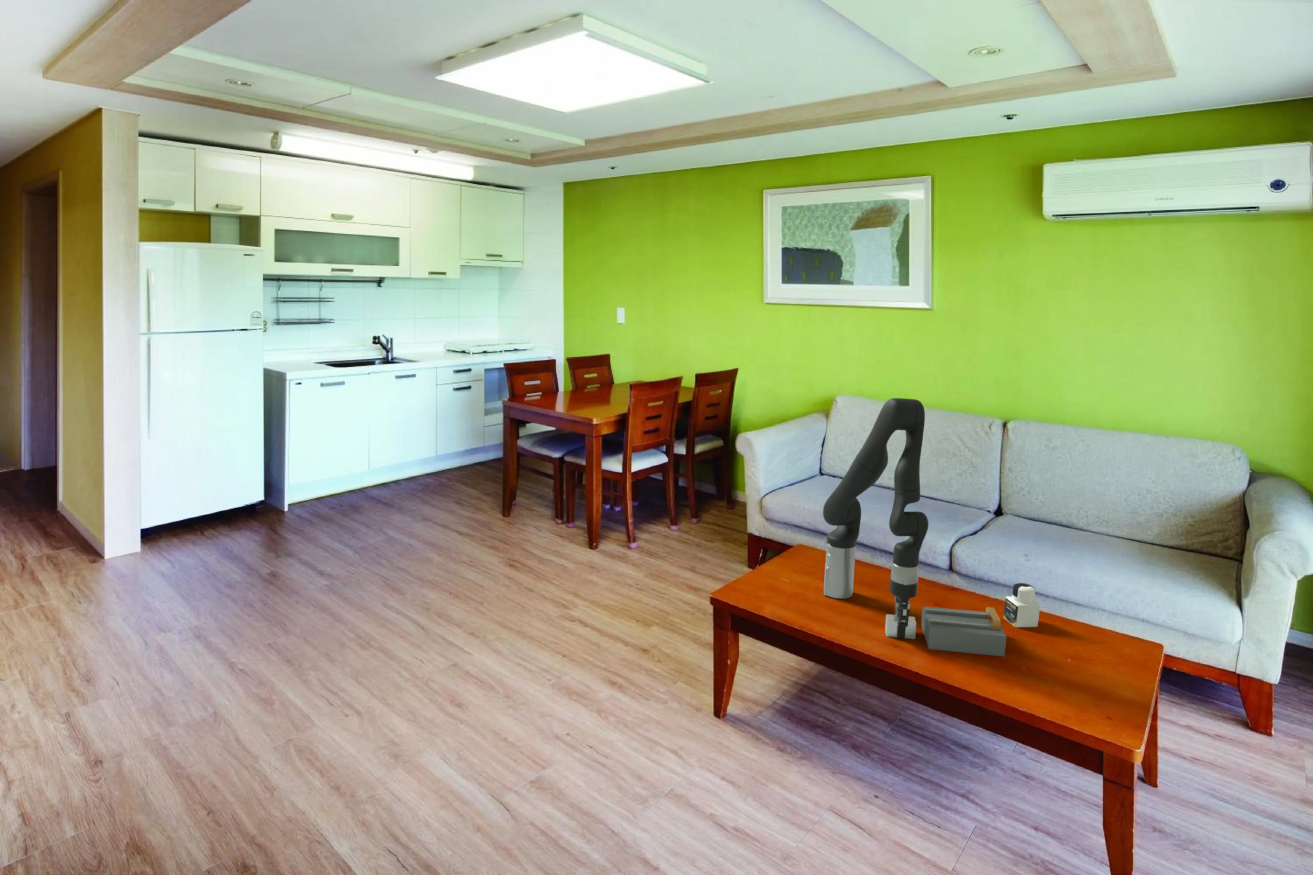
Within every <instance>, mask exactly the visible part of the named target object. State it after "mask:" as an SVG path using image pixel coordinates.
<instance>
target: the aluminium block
mask: <svg viewBox="0 0 1313 875" xmlns="http://www.w3.org/2000/svg"><path fill="white" fill-rule="evenodd" d="M897 622H898V617H897V616H896V615H895V614H885V625H884V631H885V635H886V636H885V637H890V638H898V637H897V628H898V624H897ZM901 622H905V620H901ZM916 632H917V621H916V617H915V616H910V615H909V619H908V627H906V631H905V638H904V639H910V640H911V639H912V640H916Z"/></svg>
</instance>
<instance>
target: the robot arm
mask: <svg viewBox="0 0 1313 875" xmlns="http://www.w3.org/2000/svg"><path fill="white" fill-rule="evenodd" d="M925 419H926V412H925V407H924V405H923V403H922V402H921V401H920V400H918V399H914V398H902V397H901V398H899V397H895V398H894V397H893V398H890V399H888V400H887V401H886V402H885V403H884V404H883V406H882V408H881V410H880V412H879V414H878V415H877V418H876V420H875V422H874V425H873V427H872V429H871V431H870V433H869V435H868V436H867V438H866V440H865V442H864V444H863V445H862V446H861V448H860V450H859V451H858V453H857V455H856V456H855V458H854V459H853V461H852V463H851V465H850V466H849V468H848V470H847V471H846V473H845V475H844V476H843V478H842V480H841V481H840V482H839V484H838V485H837V486H836V488H835V489H834V490H833V492H832V493H831V494H830V495H829V496H828V498H827V499H826V501H825V502H824V505H823V507H822V508H823V510H822V515H823V517H822V518H823V519H824V521H825V523H827V525H830V526H834V527H835V526H836V527H835V529H833V530H831V531H830V532H829V533H828V535H827V537H826V549H825V550H826V553H825V564H824V580H823V596H826V597H831V598H833V599H839V600H842V599H844V600H845V599H849V598H851V597H853V592H854V591H853V590H854V579H855V578H854V577H855V576H854V575H855V561H856V546H857V540H858V539H859V535H860V526H861V521H862V520H861V519H862V507H861V506H862V505H861V503H860V500H859V499H858V498H857V497H859V496H860V495H861V494H863V493H864V492H865V491H867V490H868V489H870V488H871V487H872V486H873V485H874V484H875V483H877V481H879V479H880V478H881V476H882V474H883V473H884V472H885V470H886V468H887V465H888V463H889V453H888V447H887V446H888V442H889V440H890V438H891V437H892V435H893V434H894V433H895V432H896V431H905V445H904V447H903V451H902V454H901V455H900V458H899V460H898V462H897V464H896V467H895V470H894V476H893V477H894V478H893V484H894V485H893V486H894V488H893V489H894V496H893V497H894V498H893V504H892V510H891V513H890V516H889V517H890V518H889V521H888V525H889V529H890V532H891V533H892V534H893V535H894V536H895V537H908V538H907V539H906V540H903V541H900V542H897V543H895V544H894V546H893V556H892V557H893V559H892V565H891V572H890V583H889V593H890V594H891V595H893V596H894V615H896V616H897V617H898V622H897V624H898V628H897V637H896V638H898V639H906V638H905V631H906V627H908V619H909V616H910V612H911V611H910V608H911V602H910V599H912V598H915V597H916V596H917V594H918V585H919V574H920V573H919V562H920V561H919V560H920V552H921V548H922V546H923V543H924V540H925V539H926V536H927V534H928V533H927V532H928V530H929V519H928V517H927V515H926V514H925V513H924V512H922V511H915V510H914V511H905V510H906V508H907V505H911V504H915V503H918V502H920V500H921V483H920V482H921V478H920V472H921V470H920V468H921V466H920V465H921V457H922V456H921V454H922V448H923V439H924V431H925V424H926V423H925V421H926V420H925ZM901 620H905V622H901Z"/></svg>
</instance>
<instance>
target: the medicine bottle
mask: <svg viewBox="0 0 1313 875" xmlns="http://www.w3.org/2000/svg"><path fill="white" fill-rule="evenodd" d="M1035 593H1036V588H1035V587H1034V586H1032V585H1031V584H1028V583H1026V582H1025V583H1023V582H1018V583H1014V584H1013V585H1012V594H1011V596H1005V599H1004V608H1003V609H1004V610H1003V611H1004V612H1003V619H1004V620H1006V621H1007V622H1008V623H1010V624H1011V625H1012V626H1013V627H1014V628H1037V627H1038V624H1039V619H1040V618H1039V617H1040V610H1041V605H1040V604H1039V603H1037V602H1036V601H1035V595H1036V594H1035Z"/></svg>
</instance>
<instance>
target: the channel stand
mask: <svg viewBox="0 0 1313 875" xmlns="http://www.w3.org/2000/svg"><path fill="white" fill-rule="evenodd" d="M985 607H986V608H985V611H978V610H967V609H956V608H955V609H954V608H946V607H945V608H943V607H933V606H922V610H921V611H922V612H921V613H922V614H921V621H920V622H921V629H922V632H923V634H924V635H923V636H924V639H925V641H926V644H927V648H928V650H933V651H934V650H936V651H947V652H956V653H966V654H974V655H975V654H976V655H983V656H985V655H986V656H997V657H1005V656H1006V645H1007V635H1006V632H1005V631H1004V628H1003V627H1002V624H1001V623H1002V622H1001V621H1002V620H1001V618H1000V617H999V614H998V613H997V610H996V608H994V607H989V606H985Z"/></svg>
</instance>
